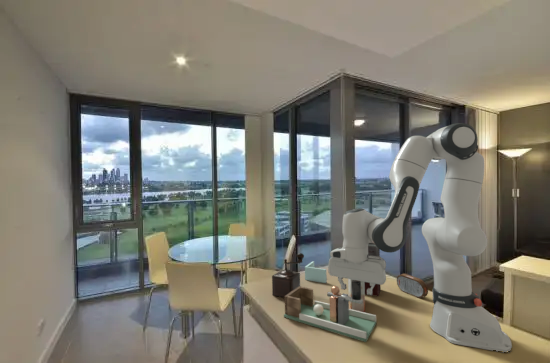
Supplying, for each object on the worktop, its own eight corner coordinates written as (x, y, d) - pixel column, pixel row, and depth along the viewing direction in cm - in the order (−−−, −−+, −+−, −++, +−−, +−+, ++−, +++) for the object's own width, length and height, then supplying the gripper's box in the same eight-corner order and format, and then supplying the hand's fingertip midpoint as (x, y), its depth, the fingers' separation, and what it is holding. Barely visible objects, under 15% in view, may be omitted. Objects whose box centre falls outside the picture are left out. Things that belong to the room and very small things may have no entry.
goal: (313, 305, 114) (313, 289, 114) (299, 318, 103) (299, 299, 104) (299, 302, 117) (299, 286, 118) (284, 313, 107) (284, 296, 107)
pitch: (376, 323, 100) (375, 295, 100) (366, 342, 89) (365, 310, 89) (300, 303, 118) (300, 280, 118) (283, 317, 106) (283, 290, 107)
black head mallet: (365, 321, 99) (364, 280, 99) (360, 329, 94) (359, 285, 94) (331, 313, 106) (330, 274, 106) (325, 319, 101) (324, 278, 101)
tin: (428, 299, 120) (428, 280, 120) (424, 301, 118) (423, 281, 118) (400, 288, 133) (399, 271, 133) (395, 289, 132) (395, 272, 132)
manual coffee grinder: (292, 300, 122) (291, 260, 122) (271, 295, 128) (271, 257, 128) (306, 288, 136) (305, 252, 136) (287, 284, 141) (286, 250, 141)
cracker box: (366, 312, 109) (364, 260, 109) (350, 311, 110) (349, 260, 110) (362, 298, 123) (360, 252, 123) (348, 297, 124) (347, 251, 124)
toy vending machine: (357, 285, 137) (355, 231, 137) (380, 289, 132) (379, 232, 132) (353, 292, 129) (352, 234, 129) (378, 296, 124) (376, 235, 124)
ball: (325, 314, 106) (325, 303, 106) (321, 318, 103) (321, 307, 103) (316, 311, 108) (315, 301, 109) (311, 315, 105) (311, 305, 105)
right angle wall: (326, 284, 142) (325, 269, 142) (305, 280, 148) (304, 266, 148) (332, 277, 152) (332, 263, 152) (312, 274, 158) (312, 261, 158)
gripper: (387, 255, 94) (388, 294, 94) (332, 248, 106) (333, 283, 106) (383, 259, 89) (384, 301, 89) (326, 251, 101) (326, 289, 100)
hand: (356, 291), depth 97 cm, fingers open, 8 cm apart
